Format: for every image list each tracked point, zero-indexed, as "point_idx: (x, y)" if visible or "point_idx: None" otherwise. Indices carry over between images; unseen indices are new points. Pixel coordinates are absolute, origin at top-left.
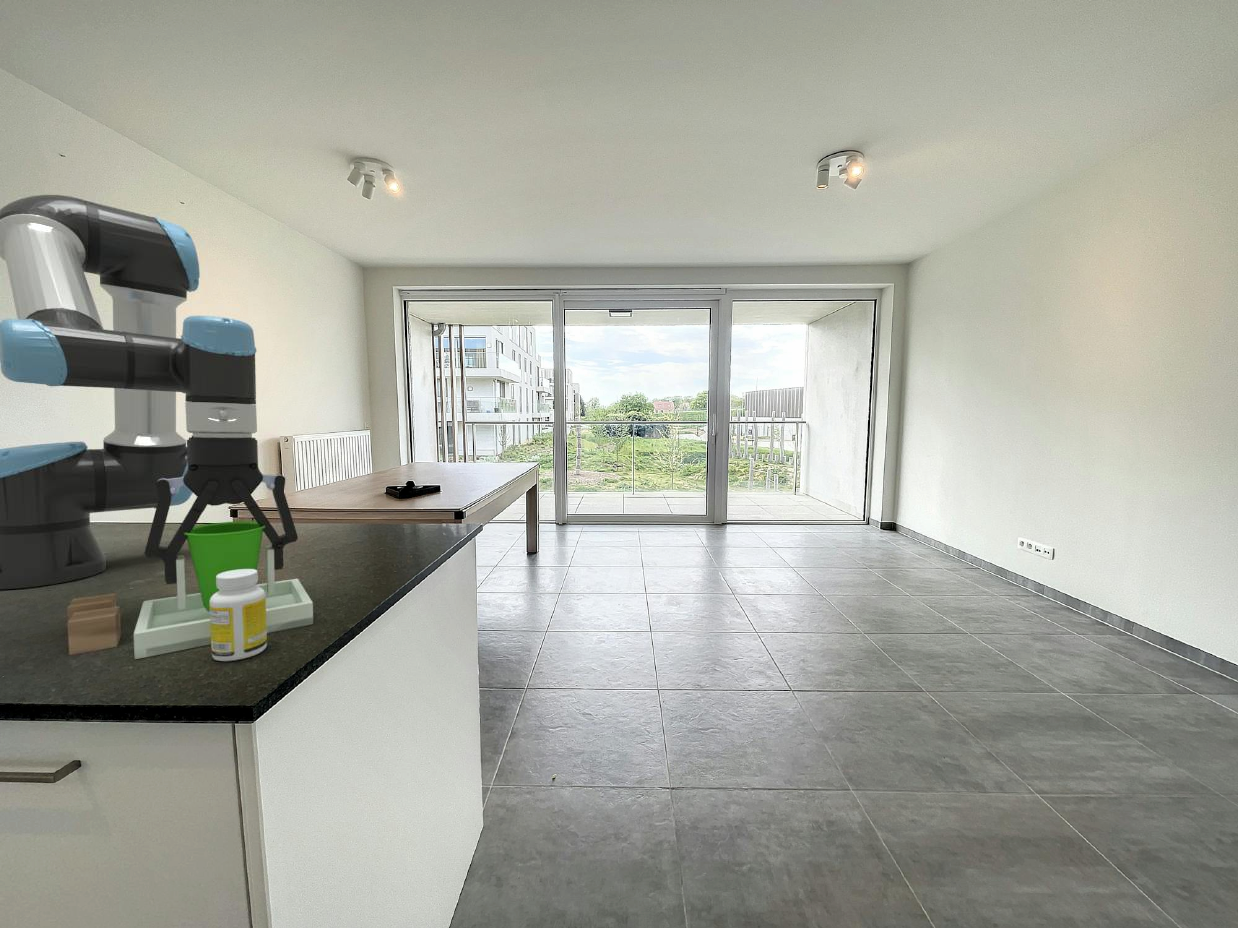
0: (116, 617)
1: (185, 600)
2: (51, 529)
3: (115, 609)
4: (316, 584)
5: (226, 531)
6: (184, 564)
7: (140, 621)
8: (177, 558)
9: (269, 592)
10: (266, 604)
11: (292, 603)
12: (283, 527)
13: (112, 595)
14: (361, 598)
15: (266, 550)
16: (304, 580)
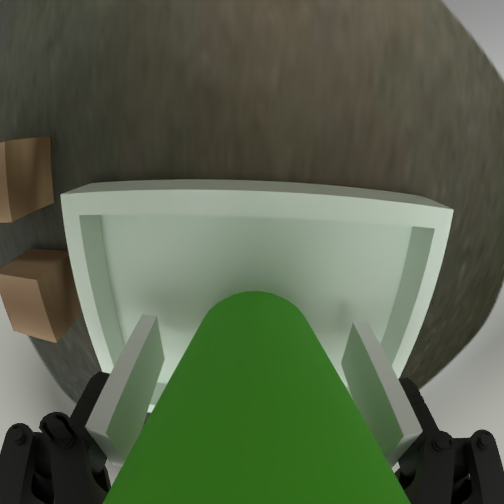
0: (56, 324)
1: (158, 363)
2: None
3: (39, 300)
4: (471, 113)
5: (275, 497)
6: (120, 416)
7: (101, 358)
8: (104, 452)
9: (344, 367)
10: (343, 277)
11: (386, 305)
12: (471, 484)
13: (3, 161)
14: (479, 294)
15: (385, 449)
16: (454, 52)
